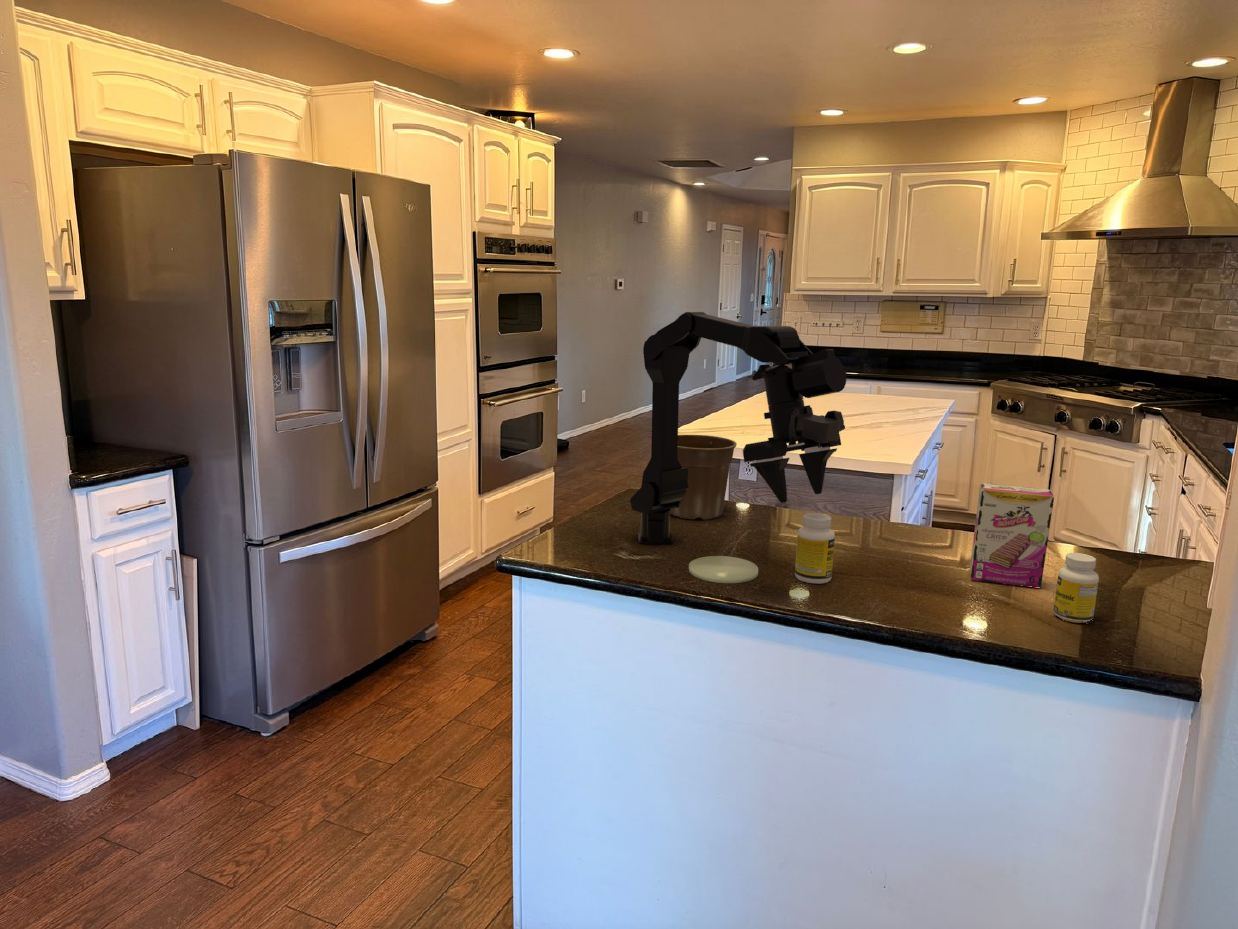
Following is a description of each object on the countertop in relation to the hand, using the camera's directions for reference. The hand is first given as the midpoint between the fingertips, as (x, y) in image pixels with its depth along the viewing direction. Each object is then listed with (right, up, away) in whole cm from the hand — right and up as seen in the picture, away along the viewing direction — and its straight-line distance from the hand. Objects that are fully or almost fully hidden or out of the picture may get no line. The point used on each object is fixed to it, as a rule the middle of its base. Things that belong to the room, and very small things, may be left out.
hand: (801, 498), depth 135 cm
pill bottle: (+4, -14, +8) cm, 17 cm away
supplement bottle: (+40, -18, -8) cm, 44 cm away
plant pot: (-13, -5, +47) cm, 50 cm away
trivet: (-11, -13, +10) cm, 20 cm away
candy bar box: (+37, -15, +8) cm, 40 cm away
